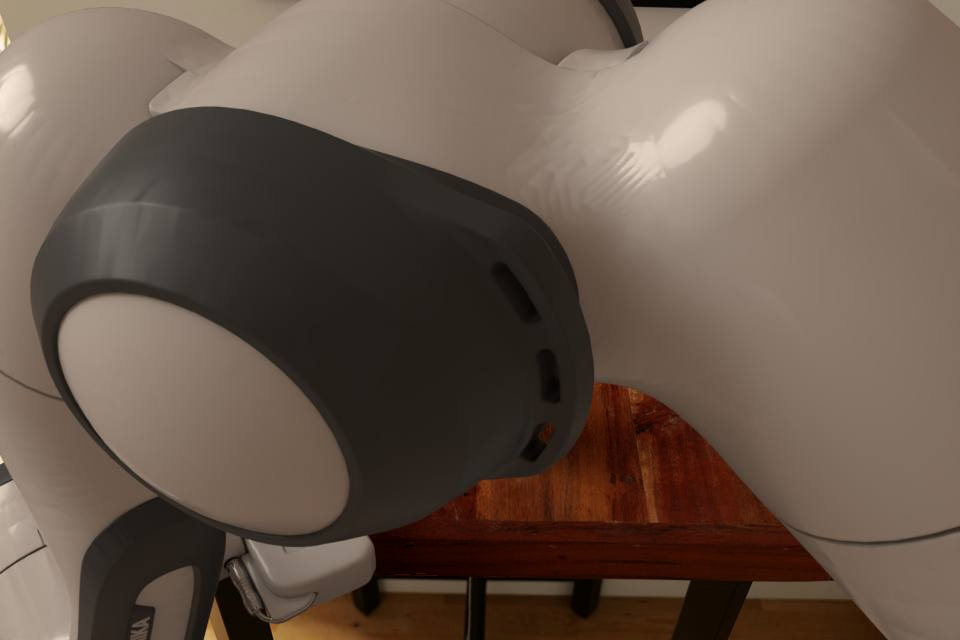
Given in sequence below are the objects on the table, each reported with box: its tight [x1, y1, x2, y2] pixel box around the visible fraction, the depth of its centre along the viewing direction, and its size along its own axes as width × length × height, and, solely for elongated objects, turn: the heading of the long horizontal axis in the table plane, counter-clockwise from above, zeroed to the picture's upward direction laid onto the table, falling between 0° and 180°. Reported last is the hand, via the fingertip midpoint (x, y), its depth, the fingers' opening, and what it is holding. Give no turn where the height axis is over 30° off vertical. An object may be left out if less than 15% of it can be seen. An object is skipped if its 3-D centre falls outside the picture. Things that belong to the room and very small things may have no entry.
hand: (372, 442), depth 68 cm, fingers open, 8 cm apart
